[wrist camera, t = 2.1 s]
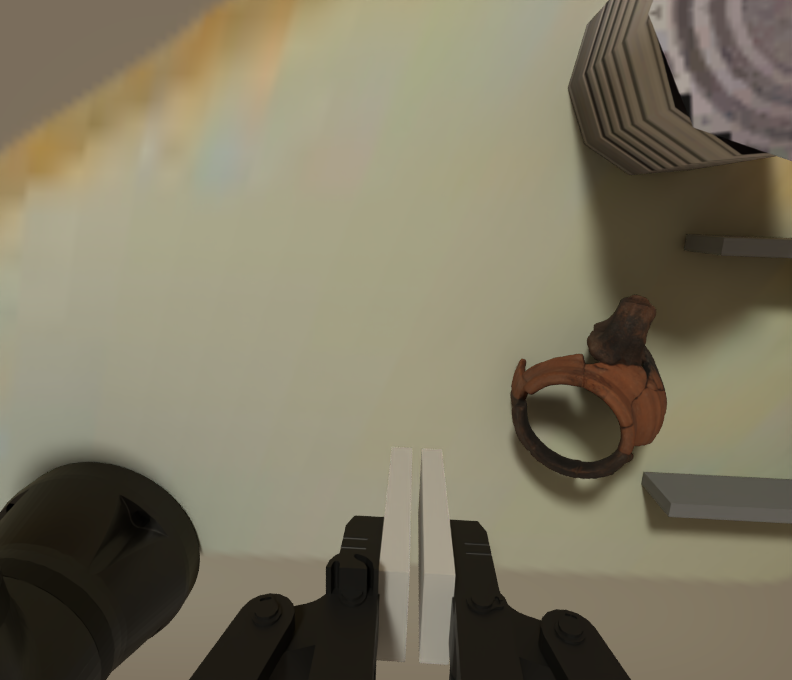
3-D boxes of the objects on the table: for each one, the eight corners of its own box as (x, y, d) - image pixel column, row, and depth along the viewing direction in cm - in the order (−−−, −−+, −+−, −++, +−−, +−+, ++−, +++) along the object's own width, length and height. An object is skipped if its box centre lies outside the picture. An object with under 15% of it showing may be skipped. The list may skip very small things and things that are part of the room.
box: (641, 484, 36) (668, 516, 32) (686, 234, 31) (724, 237, 28) (815, 493, 36) (864, 527, 32) (886, 241, 31) (953, 245, 27)
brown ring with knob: (644, 442, 36) (627, 517, 30) (521, 394, 40) (482, 451, 33) (713, 293, 30) (709, 346, 24) (559, 253, 34) (521, 289, 27)
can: (541, 153, 31) (618, 117, 19) (604, -54, 28) (739, -246, 16) (716, 198, 31) (897, 189, 19) (795, -3, 28) (1064, -156, 16)
